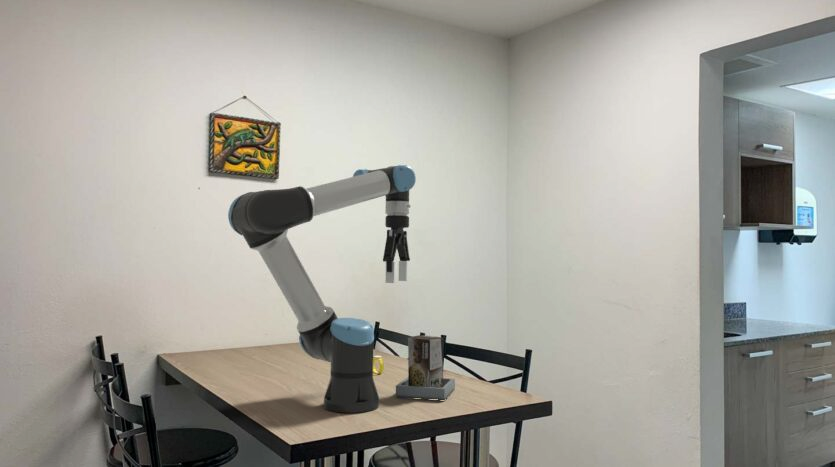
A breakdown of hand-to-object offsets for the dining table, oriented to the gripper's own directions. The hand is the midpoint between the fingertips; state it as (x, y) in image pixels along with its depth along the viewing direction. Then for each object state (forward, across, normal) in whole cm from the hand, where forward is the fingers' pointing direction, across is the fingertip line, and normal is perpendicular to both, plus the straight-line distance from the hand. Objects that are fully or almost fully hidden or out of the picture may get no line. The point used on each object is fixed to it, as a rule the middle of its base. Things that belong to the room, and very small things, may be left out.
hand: (396, 282), depth 195 cm
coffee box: (+32, -8, -12) cm, 35 cm away
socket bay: (+33, -8, -12) cm, 36 cm away
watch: (+33, +17, +12) cm, 39 cm away
